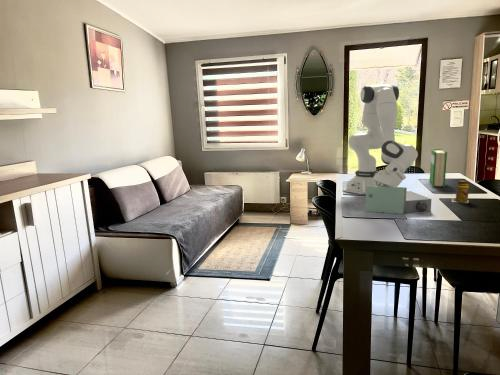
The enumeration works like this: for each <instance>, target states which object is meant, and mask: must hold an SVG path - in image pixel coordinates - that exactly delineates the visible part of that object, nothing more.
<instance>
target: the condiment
mask: <svg viewBox="0 0 500 375" xmlns="http://www.w3.org/2000/svg"><path fill="white" fill-rule="evenodd" d="M469 190H470V186H469V181H468V180H466V179H465V180H463V179H462V180H458V181H457V186H456V192H455V198H451V202H452V203H462V204H469V200H468V199H469Z"/></svg>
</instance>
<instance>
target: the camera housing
mask: <svg viewBox="0 0 500 375" xmlns="http://www.w3.org/2000/svg"><path fill="white" fill-rule="evenodd" d="M432 200H433V199H432V198H430V197H428V196H426V195H425V196H424V195H422V194H420V193H417V192H414V191H410V190H407V191H406V211H405V214H404V215H406V214H419V213H421V214H422V213H430V212H432Z"/></svg>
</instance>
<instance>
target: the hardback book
mask: <svg viewBox="0 0 500 375" xmlns="http://www.w3.org/2000/svg"><path fill="white" fill-rule="evenodd" d="M430 154H431V155H430V156H431V157H430V169H429V184H430V185H431V187H432V188H435V187H442V188H445V187H446V186H445V185H446V173H447V160H448V159H447V158H448V152H447V151H446V149H444V148H436V149H435V148H431V153H430Z"/></svg>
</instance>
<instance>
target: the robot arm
mask: <svg viewBox="0 0 500 375" xmlns="http://www.w3.org/2000/svg"><path fill="white" fill-rule="evenodd" d="M399 96H400V89H399V87H398V86H397V85H392V84H372V85H370V84H369V85H364V86H363V87H362V88H361V91H360V100H361V102H362V103H364V105H363V111H362V117H361V118H362V119H361V124H362V125H363V126H364V127H365V128H367V130H368V131H367V132H357V133H354V134H351V135H350V136H349V138H348V140H347V141H348V147H349V148H350V149H351V150H353V151H354V153H355V155H356V157H357V162H358V169H357V170H356V171H354V174H355V176H353V177H352V178H350V179H348V181H347V183H346V187H344V188H343V189H342V192H345V193H346V192H347V193H354V194H359V195H366V186H376V183H377V186H384V187H385V186H386V187H389V188H391V189H395V188H396V187H399V185H400V184H401V183H402V182H403V181H404V180H406V178H407V176H406V174H405V172H406V170H407V169H408V168H410V167H411V166H412V165H413V163H414V162H416V159H417V158H418V156H419V154H418V151H417V148H415V147H414V146H413V145H411V144H403V143H399V142H397V141H396V137H395V128H396V123H397V117H398V103H397V101H398V99H399ZM379 149H381V150H380V151H381V156H380V158H381V161H382V163H383V164H385V165H387V166H386V167H385V168H384V169H381V170H378V171H379V172H378V173H376V171H377V159H376V157H375V156H374V155H371V154H370V150H379Z"/></svg>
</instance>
